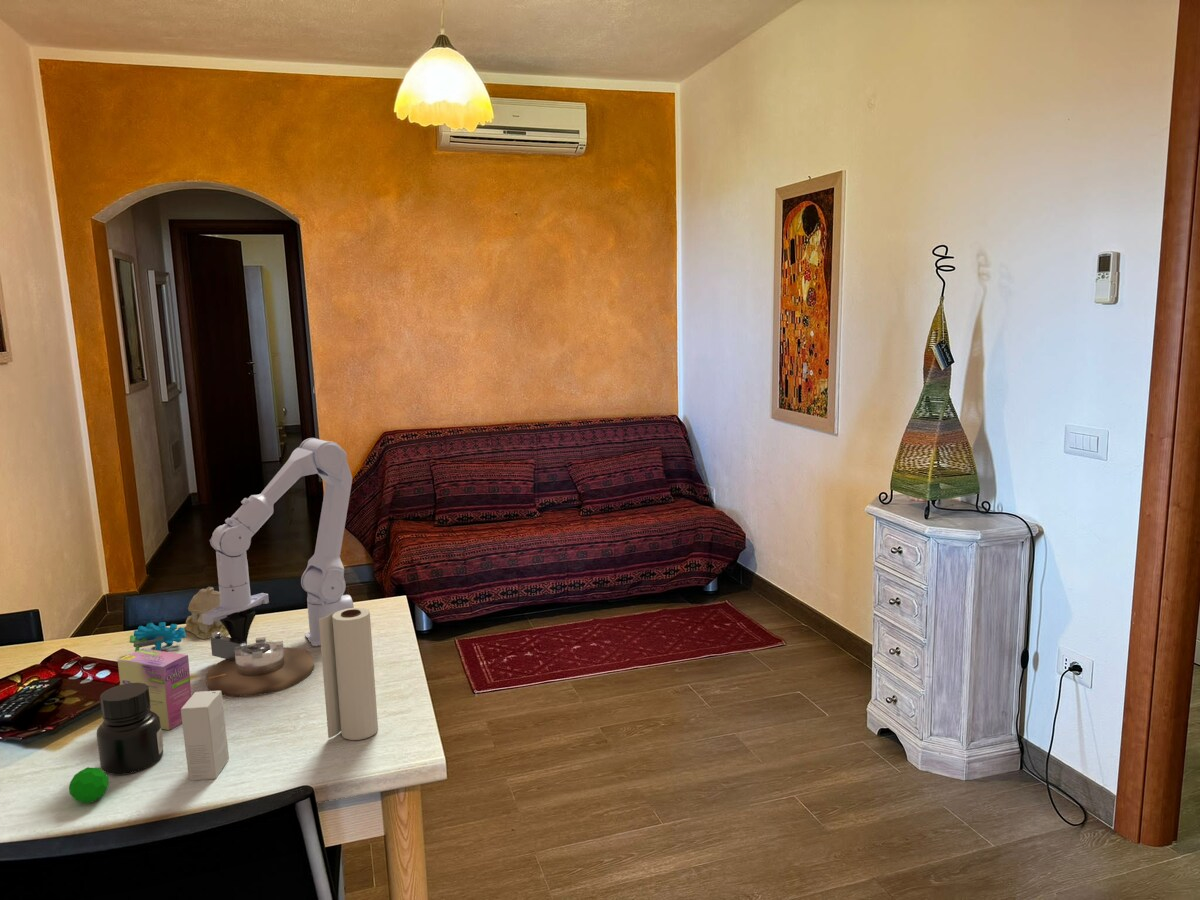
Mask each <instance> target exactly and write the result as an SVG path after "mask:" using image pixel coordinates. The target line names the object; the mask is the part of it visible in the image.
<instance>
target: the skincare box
mask: <svg viewBox="0 0 1200 900" xmlns="http://www.w3.org/2000/svg"><path fill="white" fill-rule="evenodd" d="M191 695H192V696H191V698H190V699H189V700H188V701H187V702H186V703H185V705H184V706H183V707H182V708H181V717H182V732H183V742H184V748H185V757H186V759H185V760H186V764H187V765H186V766H187V772H188V773H187V774H188V775H187V776H188V779H189V780H188V781H204V780H205V781H206V780H217V778H218V776H219V774H220V773H221V771H222V770H223V769H224V767H225V765H226V764H227V763H228V761H229V760H230V756H229V755H230V753H229V746H228V738H227V737H228V736H227V729H226V720H225V713H224V712H225V710H224V701H223V695H222V692H221V691H210V690H208V691H207V690H204V691H194V693H192V694H191Z"/></svg>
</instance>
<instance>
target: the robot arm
mask: <svg viewBox="0 0 1200 900" xmlns="http://www.w3.org/2000/svg"><path fill="white" fill-rule="evenodd" d="M347 458H348V453H347V452H346V451H345V450H344V449H343V447H341V446H340V444H338V443H337V442H335V441H329V440H324V439H323V440H322V439H320V438H316V437H309V438H306V439H304V440H303V441H302V442H301V443H300V444H299V446H298V447H296V448H295V449H294V450H293V451H292V452H291V454H290V456H289V457H288V459H287V461H286V462H285V463H284V464H283V465H282V467H281V468H280V469H279V471H277V473H276V474H275V475H274V476H273V477H272V479H271V480H270V481H269V482H268V484H267V485H266V486H265V487H264V489H263V490H262V491H261V493H259V494H251V495H250V496H249V497H244V498H243V499H242V500H241V501H240V503H241V504H242V505H240V507H239V508H238V509H237V510H235V512H234V513H233V514H232V515H231V517H227V518H225V520H224V522H225V523H224V524H222V525H219V526H217V527H216V528H215V529H214V531H213V532H212V536H211V538H210V539H209V543H210V546H211V547H212V548H213V549H214V550H215V555H216V556H215V557H216V569H217V578H218V579H217V580H218V581H217V582H218V589H219V590H218V592H220V605H219V606H217V607H216V608H214V609H212V610H211V611H209V612H207V613H205V614H202V621H203V624H206V625H211V624H213V622H215V621H218V620H220V621H221V622H222V624H223V625H224V626H225V628H226V629H227V631H228V633H229V635H228V636H229V637H230V638H235V639H239V640H243V641H247V642H248V636H249V633H250V632H249V631H250V629H251V626H252V623H253V621H254V619H255V617H256V611H255V610H252V609H253V608H256V607H257V606H261V605H262V604H263V605H265V604H269V603H270V601H269V598H270V597H269V593H264V592H261V593H257V594H253V595H251V587H250V586H251V585H250V575H249V564H248V562H249V561H248V559H247V558H248V557H247V556H248V555H247V551H248V550H249V549H250V546H251V543H252V537H253V536H254V535H256V533H257V532H258V531H259V530H260V528H262V526H263V525H265V523H266V522H267V521H268V520H269V519H270V517H271V516H272V515H273V514H274V504H275V503H276V502H277V501H278V500H279V499H280V498H282V496H283V495H284V494H286V492H287V491H288V490H289V489H290V488H292V486H293V485H294V484H296V482H297V481H298V480H299V479H300V478H302V477H306V476H310V475H311V476H312V475H316V474H317V475H318V476H319V477H320V478H321V479H322V481H323V482H324V483H325V486H324V493H323V498H322V500H323V501H322V505H321V512H320V517H319V523H318V530H317V534H316V535H317V537H316V543H315V549H314V554H313V555H312V556H311V557H310V558H309V559H308V561H307V566H306V568H305V570H304V572H303V573H302V574H301V578H300V585H301V587H302V589H303V590H304V591H305V592H307V598H306V602H307V603H306V604H307V613H308V614H307V615H308V628H309V632H306V633H305V635H304V636H305V637H307V638H308V639H307V638H306V639H307V640H308V641H309V643H310V642H311V643H310V644H311V645H312V647H319V646H321V641H320V629H319V619H321V618H324V617H326V616H328V615H330V614H332V613H334V612H337V611H340V610H344V609H349V608H355V607H354V603H353V602H354V601H353V599H352V596H351V595H350V594H345V591H346V588H347V587H346V580H345V577H344V576H345V575H344V574H345V567H344V565H343V562H342V560H341V554H342V553H341V552H342V548H343V547H342V545H343V540H344V534H345V527H346V521H347V515H348V514H347V513H348V509H349V503H350V498H351V497H350V496H351V490H352V484H353V475H352V472H351V469H350V466H349V463H348V459H347ZM318 645H319V646H318Z"/></svg>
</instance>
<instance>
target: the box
mask: <svg viewBox="0 0 1200 900" xmlns="http://www.w3.org/2000/svg"><path fill="white" fill-rule="evenodd" d="M189 661H190V659H189V655H188V654H182V653H176V652H170V651H164V650H163V651H162V650H161V651H157V650H155V649H150V648H145V647H144V648H143V647H142V648H141V649H139V650H138V651H136V652H135V651H133V652H132V653H129V654H128V655H125V656H123V657H121V658H118V660H117V665H118V666H117V667H118V674H119V675H118V677H119V685H122V684H128V683H145V684H146V685H148V687H149V696H150V705H151V708H150V710H151V711H152V712H154V713H156V714H157V715H158V716H159V719H160V725H161V730H162V729H163V730H166V731H171V730H173V729H174V728H177V727H178V726H180V725H181V724H182V717H181V708H182V707H183V706H184V705H185V703H186V702H187V701H188V700H189V699H190V698H191V696H192V695H193V694H192V684H191V676H190V675H191V672H190V663H189Z"/></svg>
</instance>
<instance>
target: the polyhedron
mask: <svg viewBox="0 0 1200 900" xmlns="http://www.w3.org/2000/svg"><path fill="white" fill-rule="evenodd" d="M109 783H110V782H109V776H108V775H107V773H106V772H104V771H103V770H102V769H101V768H100V767H89V766H87V767H86V768H84V769H82V770H80V771H78V772H77V773H75V774H74V776H73V777H72V779H71V781H70V783H69V785H68V786H69V787H68V789H69V794H70V796H71V797H72V799H74V800H75V801H76V802H78V803H85V804H86V803H88V804H89V803H90V804H91V803H93V802H95V801H97V800H98V799H101V798H102V797H103V796H104V795H105V793H106V791H107V789H108V787H109V785H110V784H109Z"/></svg>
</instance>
